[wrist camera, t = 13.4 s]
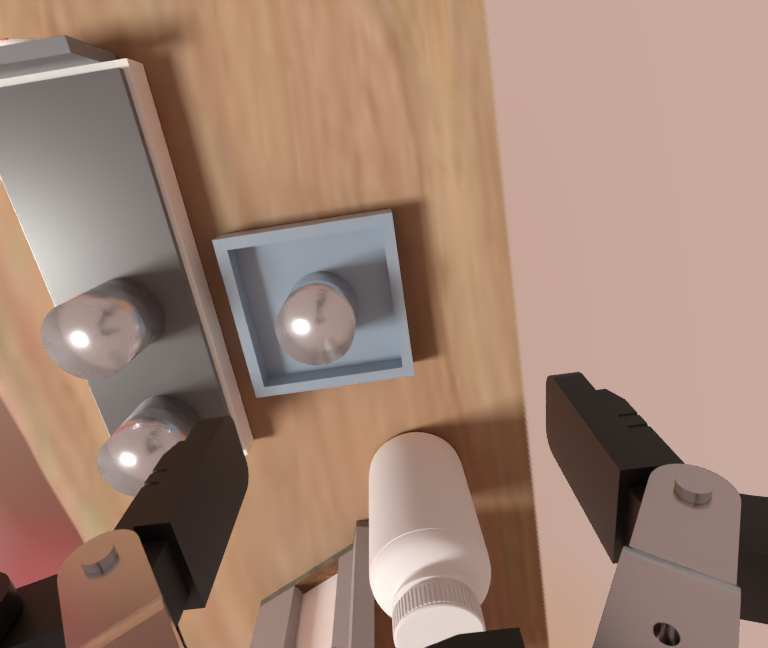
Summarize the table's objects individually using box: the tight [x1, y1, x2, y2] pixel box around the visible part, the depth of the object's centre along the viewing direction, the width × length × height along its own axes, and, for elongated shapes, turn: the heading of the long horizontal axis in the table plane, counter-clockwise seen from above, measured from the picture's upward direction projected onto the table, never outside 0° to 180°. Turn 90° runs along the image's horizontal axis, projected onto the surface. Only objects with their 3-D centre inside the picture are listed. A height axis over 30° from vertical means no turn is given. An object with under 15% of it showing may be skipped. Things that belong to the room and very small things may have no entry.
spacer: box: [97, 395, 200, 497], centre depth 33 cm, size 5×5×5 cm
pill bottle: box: [369, 432, 491, 648], centre depth 33 cm, size 8×8×15 cm
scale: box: [0, 35, 253, 455], centre depth 32 cm, size 29×10×5 cm, turn 8°
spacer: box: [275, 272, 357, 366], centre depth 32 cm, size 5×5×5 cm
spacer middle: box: [41, 279, 164, 380], centre depth 30 cm, size 5×5×5 cm
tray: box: [212, 208, 415, 398], centre depth 34 cm, size 12×12×2 cm
